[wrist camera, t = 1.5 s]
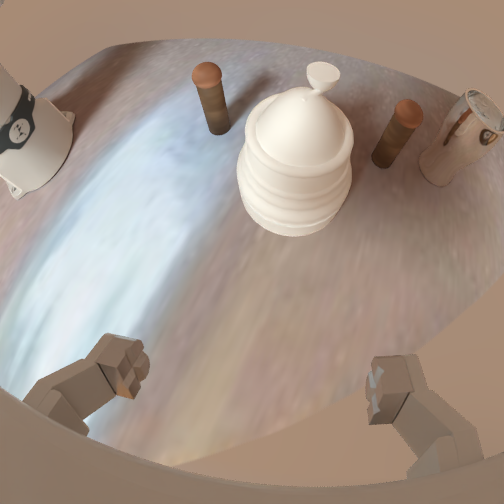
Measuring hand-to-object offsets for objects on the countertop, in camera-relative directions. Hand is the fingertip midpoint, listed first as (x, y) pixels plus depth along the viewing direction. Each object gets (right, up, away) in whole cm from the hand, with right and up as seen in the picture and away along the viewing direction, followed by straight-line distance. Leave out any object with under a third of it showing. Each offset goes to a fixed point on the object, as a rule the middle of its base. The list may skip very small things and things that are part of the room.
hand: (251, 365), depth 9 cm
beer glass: (+27, +16, +26) cm, 41 cm away
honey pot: (+5, +12, +27) cm, 29 cm away
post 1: (-5, +21, +29) cm, 36 cm away
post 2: (+18, +17, +27) cm, 36 cm away
